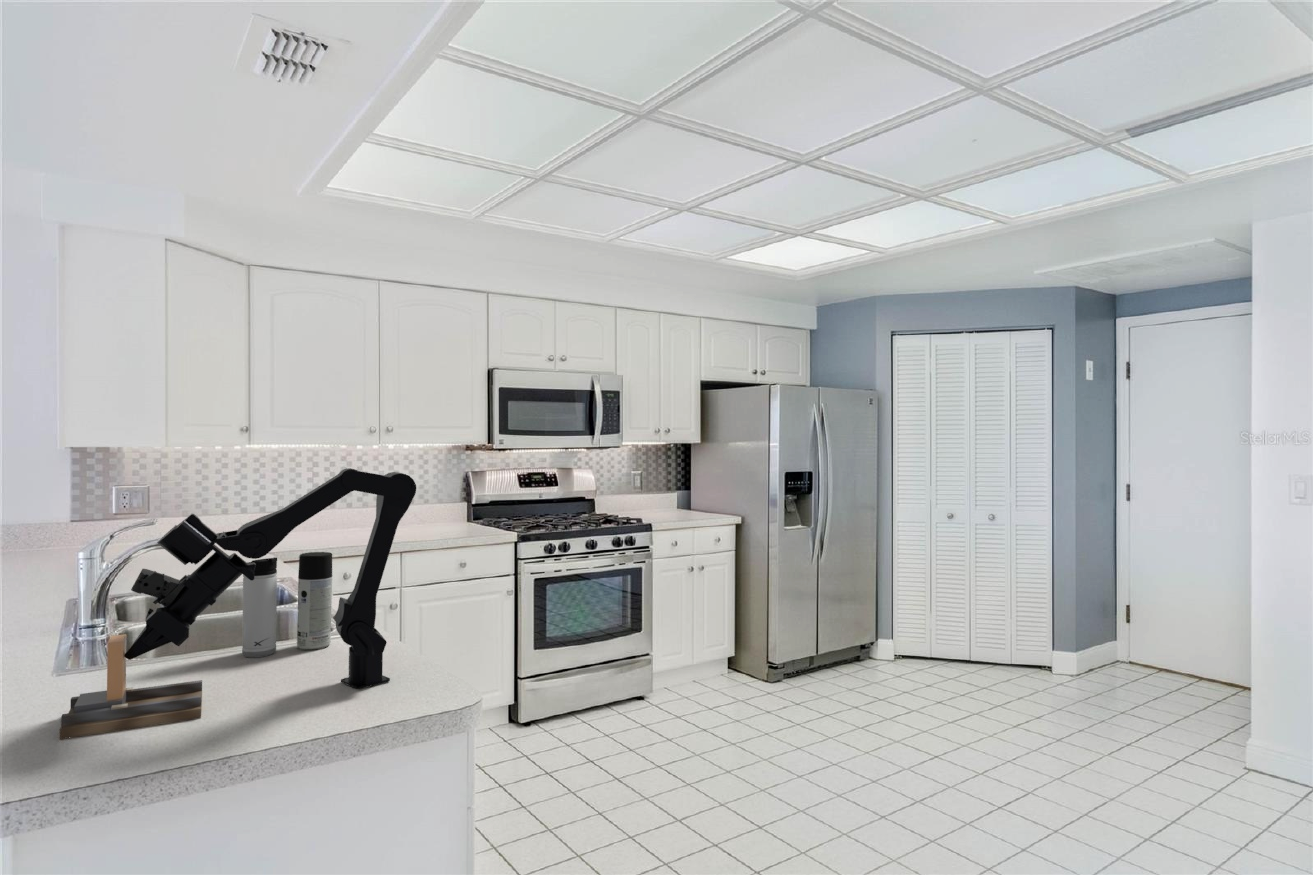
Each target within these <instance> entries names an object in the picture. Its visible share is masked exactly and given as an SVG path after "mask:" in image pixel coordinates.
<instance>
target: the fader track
mask: <svg viewBox="0 0 1313 875" xmlns="http://www.w3.org/2000/svg"><path fill="white" fill-rule="evenodd" d="M79 696H80V695H78V696H72V697H71V698H70V704H69V705H70V706H69V707H70V709H69V711H68V713H63V714H62V715H61V717H60V719H61V720H60V722H61V723H60V728H59V740H64V739H63V738H66V739H70V738H69V737H73V738H77V737H78V738H79V737H84V736H90V735H97V734H105V733H111V732H116V731H117V732H118V731H123V730H124V731H125V730H132V729H137V728H144V727H150V726H158V725H163V724H169V723H176V722H177V723H178V722H182V721H183V722H184V721H191V720H198V719H202V704H203V702H202V701H203V680H202V679H201V680H199V679H198V680H194V681H193V680H192V681H186V682H185V681H184V682H178V683H171V684H170V683H169V684H163V685H155V686H146V687H138V688H134V687H126V702H125V704H119V705H112V707H110V708H103V709H96V710H89V711H81V712H74V706H75V704H76V702H77V700H78V698H79Z"/></svg>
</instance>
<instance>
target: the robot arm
mask: <svg viewBox="0 0 1313 875" xmlns="http://www.w3.org/2000/svg"><path fill="white" fill-rule="evenodd" d="M354 491H356V492H360V493H366V494H371V495H376V499H375V500H376V502H375V504H376V505H375V519H374V522H373V527H372V528H371V532H370V535H369V540H368V542H367V546H366V548H365V552H364V554H363V559H362V561H361V565H360V568H359V571H358V574H357V578H356V581H355V584H354V588H353V590H352V592H351V593H350V594H349V596H348V597H347V598H344V597H339V599H338V608H337V610H336V613H335V614H334V615H333V620H334V622H335V629H336V632H337V633H338V634H339V636H340V638H341V640H342V641H343V643H344V644H346V645H348V646H350V647H348V677H344V678H341V679H340V683H342V684H345V685H346V686H348V687H351V688H354V689H356V690H362V689H365V688H369V687H373V686H376V685H380V684H383V683H384V684H385V683H389V682H390V681H391V679H390V677H388V676H386V675H384V674H383V662H384V661H383V659H384V658H383V654H384V651H385V648H386V645H387V640H386V639H385V638H384V636H383V635H382V634H381V633H380V632H379V630H377V628H375V626H376V619H377V618H376V616H377V595H378V592H379V587H380V585H381V581H382V579H383V575H384V573H385V572H384V571H385V568H386V565H387V561H388V560H389V559H388V558H389V556H390V552H391V548H392V546H393V545H392V544H393V543H394V539H395V536H396V532H397V529H398V526H399V523H400V522H401V520H402V518H403V517H404V516H405V514H406V512H407V511H408V510H409V508H410V506H411V503H412V502H413V500H414V497H415V495H416V492H417V484H416V482H415V480H414V479H413V478H412V477H411V476H410V475H408V474H406V473H403V472H398V471H391V472H388V473H385V474H384V475H382V474H377V473H373V472H366V471H359V470H358V469H354V468H351V467H349V468H347V467H346V468H344V469H342V470H340V471H339V473H337V474H336V475H335V476H333V477H332V478H330V479H328V480H326V481H325V482H323V483H322V484H320V485H319V486H317V487H315V488H314V489H312V490H311V491H309V492H307V493H306V494H304V495H303V496H301V497H299V498H297V499H296V500H294V501H292V502H291V503H289V504H288V505H286V506H284V507H283V508H282V509H278V510H277V511H273V512H271V513H268V514H266V515H265V514H264V515H263V516H260V517H259V518H256V519H252V520H250V521H249V522H246V523H244V524H242V525H241V526H240V527H239V528H238V529H236V530H229V531H222V532H218V533H217V532H215V531H213V530H212V529H211V528H210V527H208V526H207V525H206V524H205V523H204V522H203V521H202V520H201V519H200V517H198V516H197V514H195V513H190V515H188V516H187V517H185V518H184V519H183V520H182V521H181V522H179V523H178V524H175V525H174V526H173V527H172V528H171V529H170V530H169V531H167V532H166V533H165V534H164V535H163V536H162V537H161V538H159V540H158V541H157V542H156V544H158V545H159V546H160V547H161V548H162V549H164V550H165V551H166V552H168V553H169V554H170V555H171V556H173V557H174V558H176V559H177V560H178V561H179V562H180V563H181V564H183V565H184V566H186V565H187V564H194V565H198V564H199V563H200V562H201V561H203V559H204V558H206V557H207V556H208V555H209V554H210V553H211V552H212V551H214V553H213V554H211V555H210V556H208V558H207V559H206V560H205V561H204V562H202V564H201V565H199V566H198V567H197V568H196V569H194V571H193V572H192V573H191V574H185V575H183V577H182V578H180V579H177V578H175V577H172V576H169V575H166V574H165V573H160V572H158V571H156V570H151V569H148V568H142V569H141V570H140V572H139V574H138V576H137V578H136V579H135V582H134V584H133V585H132V587H131V589H130V590H131V591H132V592H134V593H136V594H140V595H141V594H143V595H144V594H145V595H147V596H150V597H154V598H153V600H152V603H153V604H154V605H157V604H158V605H159V607H157V608H155V609H153V608H151V607H150V608H148V611H147V614H146V616H145V626H144V628H143V630H142V631H141V632H140V633H139V635H138V636H137V637H136V639H135V640H134V641H133V643H132V644H131V646H129V648H128V649H127V650H126V653H125V655H124V657H126V660H132V659H135V658H137V657H139V656H142V655H144V654H146V653H149V652H151V651H153V650H156V649H158V648H160V647H163V646H165V645H167V644H171V643H172V644H174V646H176V647H180V646H181V645H182V644H183V643H184V642H185V641H186V640H188V639H189V636H190V626H191V625H193V624H194V623H195V622H196V620H197V617H198V616H200V615H201V613H203V612H204V611H205V610H206V609H207V608H208V607H209V606H211V607H212V606H213V605H214V604H215V603H216V602H217V598H219V597H220V596H221V595H222V594H223V593H224V592H225V591H226V590H227V589H228V588H229V587H230V586H231V585H232V584H233V583H234V582H236V581H237V580H238V579H239V578H240V577H241V576H243V575H245V576H246V577H247V578H248V579H249V580H251V581H252V580H254V579H255V577H254V570H255V567H256V564H255V563H254V562H253V563H246V562H247V561H246V560H244V559H243V558H242V557H244V558H246V559H252V560H253V559H254V560H258V559H262V558H263V557H264V556H266V555H267V554H269V553H270V552H271V551H273V549H274V548H276V547H277V546H278V545H279V544H280V543H281V542H282V541H283V540H284V539H285V538H286V537H287V536H288V535H289V534H290V533H291V532H292V531H293V530H294V529H296V527H299V526H300V525H301V524H303V523H305V522H306V521H308V520H309V519H311V518H312V517H314V516H316V515H317V514H318V513H320V512H321V511H323V510H325V509H327V508H328V507H330V506H331V505H333V504H334V503H336V502H337V501H339V500H340V499H342V498H344V497H345V496H347V495H349V494H350V493H352V492H354ZM217 545H218V546H219V547H220V548H219V547H218V546H217ZM223 550H224V551H231V552H233V553H231V554H230V555H229V554H227V553H226V552H224V551H223ZM235 552H237V553H239V554H240V555H241V556H242V557H241V556H240V555H238V554H237V553H235Z"/></svg>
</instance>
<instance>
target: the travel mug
mask: <svg viewBox="0 0 1313 875" xmlns="http://www.w3.org/2000/svg"><path fill="white" fill-rule="evenodd" d="M245 562H246V563H253V562H254V563H255V564H256V567H255V570H254V577H255V579H254V580H252V581H251V580H249V579H248V578H247V577H246V576H245V575H243V574H242V577H243V578H242V632H241V633H242V642H241V644H242V646H241V647H242V648H241V651H242V654H241V655H242V656H243V657H245V658H250V659H251V658H263V657H267V656H271V655H274V654H275V653H276V652H277V612H278V611H277V610H278V609H277V608H278V607H277V602H278V600H277V598H278V596H277V594H278V591H277V590H278V571H277V570H278V569H277V567H278V564H277V563H278V557H275V556H274V557H269V558H258V559H254V560H253V559H252V560H251V561H250V562H249V561H248V562H247V561H245Z"/></svg>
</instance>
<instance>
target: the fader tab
mask: <svg viewBox="0 0 1313 875" xmlns="http://www.w3.org/2000/svg"><path fill="white" fill-rule="evenodd" d="M106 647H107V650H106V651H107V653H106V655H107V658H106V660H107V663H106V668H107V670H106V672H107V673H106V690H100V691H91V692H85V693H80V694H79V695H78V696H79V698H78V700H77V702H76V704H75V706H74V712H81V711H89V710H96V709H103V708H110V707H112V705H119V704H125V702H126V688H127V687H126V686H127V658H126V657H124V655H125V653H126V652H127V634H125V633H124V634H115V635H111V636H110V637H109V639H108V641H107V646H106Z"/></svg>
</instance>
